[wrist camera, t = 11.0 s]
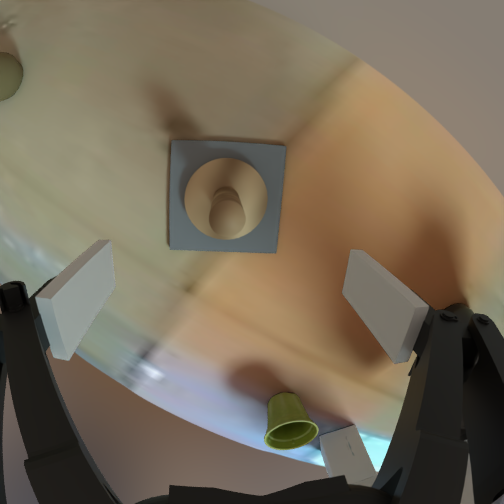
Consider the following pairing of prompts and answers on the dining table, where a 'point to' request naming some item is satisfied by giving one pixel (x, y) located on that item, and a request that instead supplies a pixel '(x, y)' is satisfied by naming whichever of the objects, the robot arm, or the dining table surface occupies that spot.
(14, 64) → the squeeze bottle
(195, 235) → the mat
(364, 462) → the tall white carton
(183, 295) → the dining table surface
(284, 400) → the plant pot
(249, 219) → the beige disc-based post
